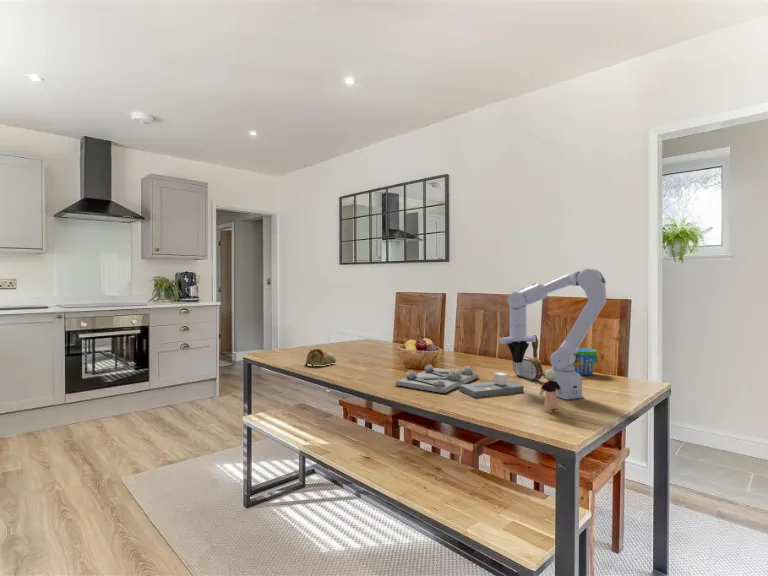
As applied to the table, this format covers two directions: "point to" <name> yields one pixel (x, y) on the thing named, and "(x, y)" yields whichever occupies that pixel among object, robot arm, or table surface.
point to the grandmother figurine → (550, 392)
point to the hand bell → (535, 346)
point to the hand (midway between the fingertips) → (517, 362)
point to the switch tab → (501, 378)
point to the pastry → (320, 357)
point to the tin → (528, 369)
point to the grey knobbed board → (438, 379)
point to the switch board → (490, 389)
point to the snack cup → (585, 361)
